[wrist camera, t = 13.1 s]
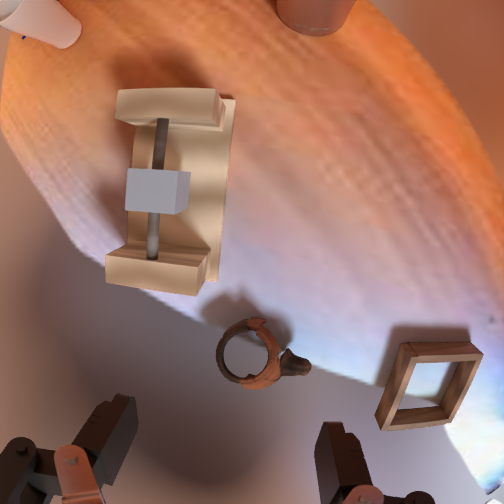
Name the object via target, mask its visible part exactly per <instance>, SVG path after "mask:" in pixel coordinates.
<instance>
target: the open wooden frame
mask: <svg viewBox="0 0 504 504" xmlns="http://www.w3.org/2000/svg"><path fill="white" fill-rule="evenodd" d="M483 355H484V354H483V353H482V352H481V351H480V350H479V349H478V348H476V347H475V346H474V345H473V344H472V343H467V342H444V343H421V342H408V344H406V343H401V345H400V348H399V351H398V354H397V357H396V360H395V363H394V366H393V369H392V372H391V374H390V377H389V380H388V383H387V385H386V388H385V390H384V393H383V396H382V398H381V401H380V403H379V405H378V408H377V410H376V413H375V418H376V420H377V423H378V425H379V428H380V430H381V431H383V430H387V431H394V430H404V429H414V428H422V427H430V426H436V425H443V424H446V423H451V422H452V420H453V418H454V416H455V414H456V413H457V411H458V409H459V407H460V405H461V403H462V401H463V399H464V397H465V395H466V393H467V391H468V389H469V387H470V385H471V383H472V380H473V378H474V376H475V374H476V371H477V369H478V367H479V365H480V362H481V360H482V357H483ZM458 361H460V362H459V364H458V366H457V369H456V371H455V374H454V376H453V378H452V380H451V383H450V385H449V387H448V389H447V391H446V394H445V396H444V398H443V400H442V402H441V404H440V406H434V407H424V408H413V409H400V410H397V409H398V406H399V404H400V402H401V400H402V397H403V395H404V393H405V390H406V388H407V385H408V383H409V380H410V378H411V375H412V373H413V370H414V368H415V365H416V363H437V362H458Z"/></svg>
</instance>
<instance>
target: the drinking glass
mask: <svg viewBox="0 0 504 504" xmlns="http://www.w3.org/2000/svg"><path fill="white" fill-rule="evenodd" d="M0 26H1V27H3V28H5V29H7V30H9V31H12V32H14V33H17V34H20V35H23V36H26V37H29V38H33V39H35V40H38V41H41V42H44V43H47V44H49V45H52V46H54V47H56V48H58V49H64V48H67V47H69V46H71V45H72V44H73V43H74V42H75V41H76V40H77V39H78V38H79V36H80V34H81V31H82V24H81V22H80V21H79V20H78V19H77V18H75V17H74V16H73V15H72V14H71V13H70V12H69V11H68V10H67V9H66V8H65V7H64V6H63V5H61V4H60V3H59V2H58V1H57V0H0Z"/></svg>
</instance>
